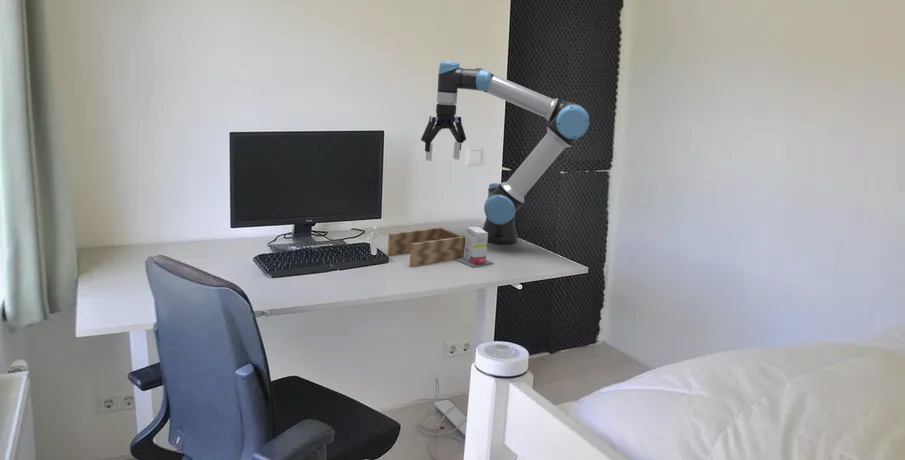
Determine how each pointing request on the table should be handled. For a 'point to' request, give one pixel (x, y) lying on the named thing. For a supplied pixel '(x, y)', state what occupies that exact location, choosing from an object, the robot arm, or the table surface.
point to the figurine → (373, 241)
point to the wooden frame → (427, 245)
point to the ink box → (476, 245)
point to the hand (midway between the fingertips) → (442, 159)
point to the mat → (466, 262)
